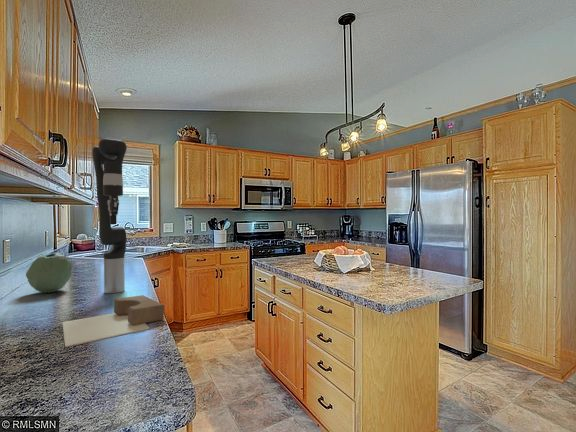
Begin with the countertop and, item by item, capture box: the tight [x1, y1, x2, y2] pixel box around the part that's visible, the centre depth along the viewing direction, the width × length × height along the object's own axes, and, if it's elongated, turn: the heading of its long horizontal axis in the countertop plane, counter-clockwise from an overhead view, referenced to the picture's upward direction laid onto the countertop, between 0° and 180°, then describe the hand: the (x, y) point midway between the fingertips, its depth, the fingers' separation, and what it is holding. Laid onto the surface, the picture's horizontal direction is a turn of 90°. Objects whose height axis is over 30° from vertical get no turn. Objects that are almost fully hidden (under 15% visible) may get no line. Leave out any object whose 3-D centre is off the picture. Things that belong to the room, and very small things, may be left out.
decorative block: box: [113, 295, 165, 325], centre depth 115 cm, size 11×6×20 cm
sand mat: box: [62, 312, 150, 348], centre depth 106 cm, size 26×23×1 cm
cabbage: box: [25, 251, 73, 294], centre depth 156 cm, size 16×19×20 cm
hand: (113, 224), depth 133 cm, fingers closed
